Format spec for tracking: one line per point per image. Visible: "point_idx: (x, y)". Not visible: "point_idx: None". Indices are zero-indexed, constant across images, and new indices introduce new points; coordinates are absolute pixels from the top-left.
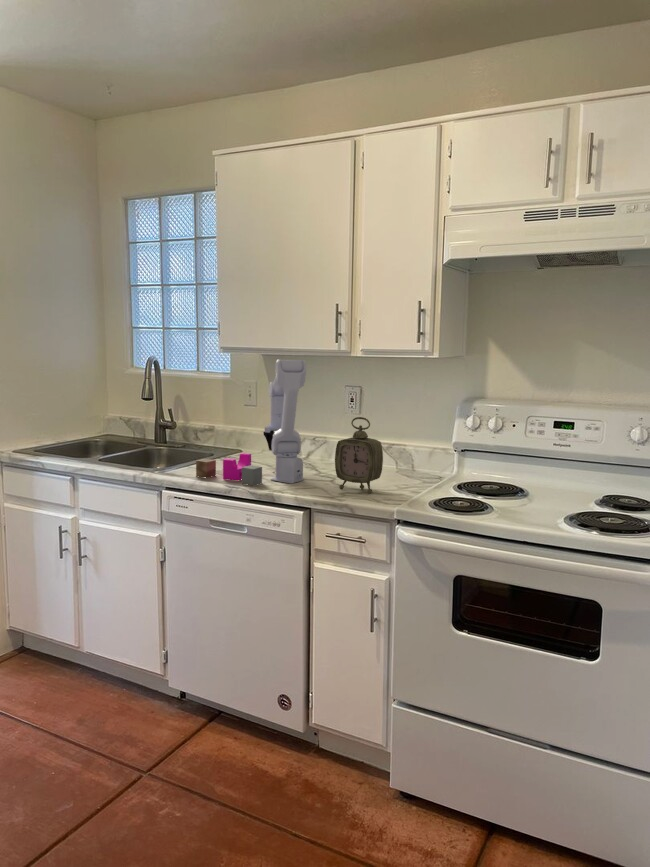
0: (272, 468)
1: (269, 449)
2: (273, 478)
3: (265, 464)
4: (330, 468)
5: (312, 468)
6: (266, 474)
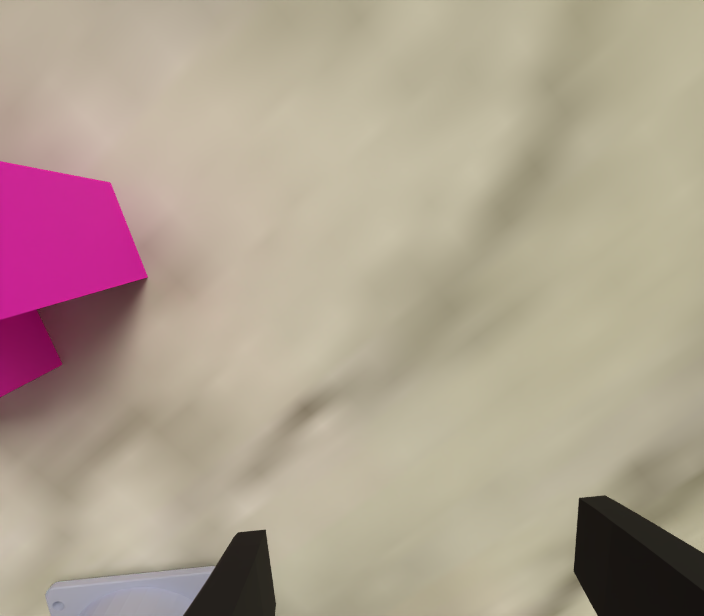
0: (435, 292)
1: (227, 554)
2: (75, 595)
3: (558, 104)
4: None
5: None
6: (199, 419)
